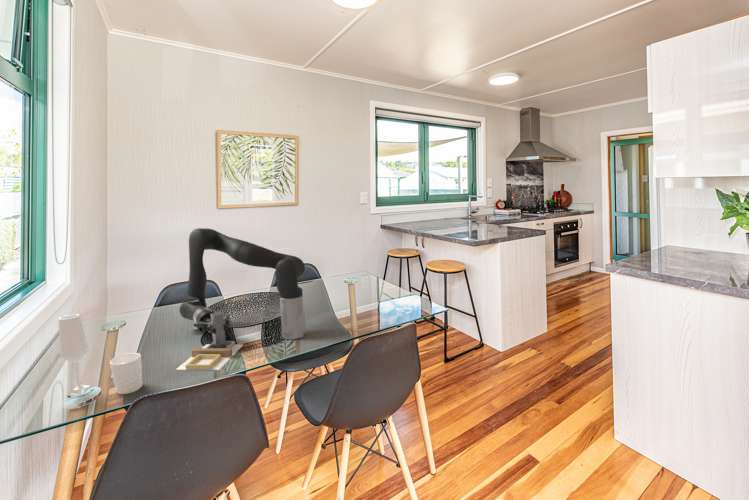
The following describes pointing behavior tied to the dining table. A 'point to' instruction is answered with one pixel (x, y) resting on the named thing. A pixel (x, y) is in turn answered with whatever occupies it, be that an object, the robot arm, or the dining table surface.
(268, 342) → the dining table surface
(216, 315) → the bar
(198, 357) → the white board with frames
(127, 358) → the white cup
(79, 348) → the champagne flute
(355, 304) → the dining table surface
